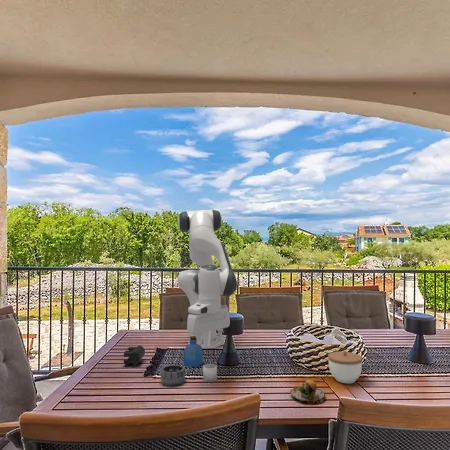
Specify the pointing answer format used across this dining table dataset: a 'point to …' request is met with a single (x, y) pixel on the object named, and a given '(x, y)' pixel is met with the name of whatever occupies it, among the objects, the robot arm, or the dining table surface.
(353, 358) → the lidded bowl
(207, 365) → the cap
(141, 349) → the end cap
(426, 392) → the dining table surface
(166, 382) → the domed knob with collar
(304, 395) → the burger
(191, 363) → the perfume bottle
